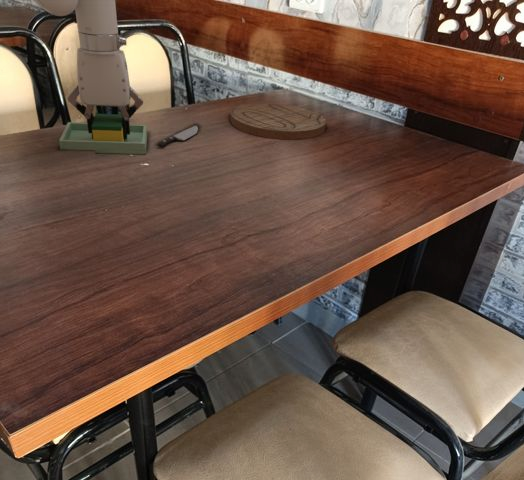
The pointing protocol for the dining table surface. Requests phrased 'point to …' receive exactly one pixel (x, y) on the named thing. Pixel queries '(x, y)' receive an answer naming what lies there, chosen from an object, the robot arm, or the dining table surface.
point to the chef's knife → (180, 136)
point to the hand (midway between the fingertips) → (110, 136)
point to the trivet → (277, 121)
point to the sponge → (107, 128)
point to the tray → (82, 140)
